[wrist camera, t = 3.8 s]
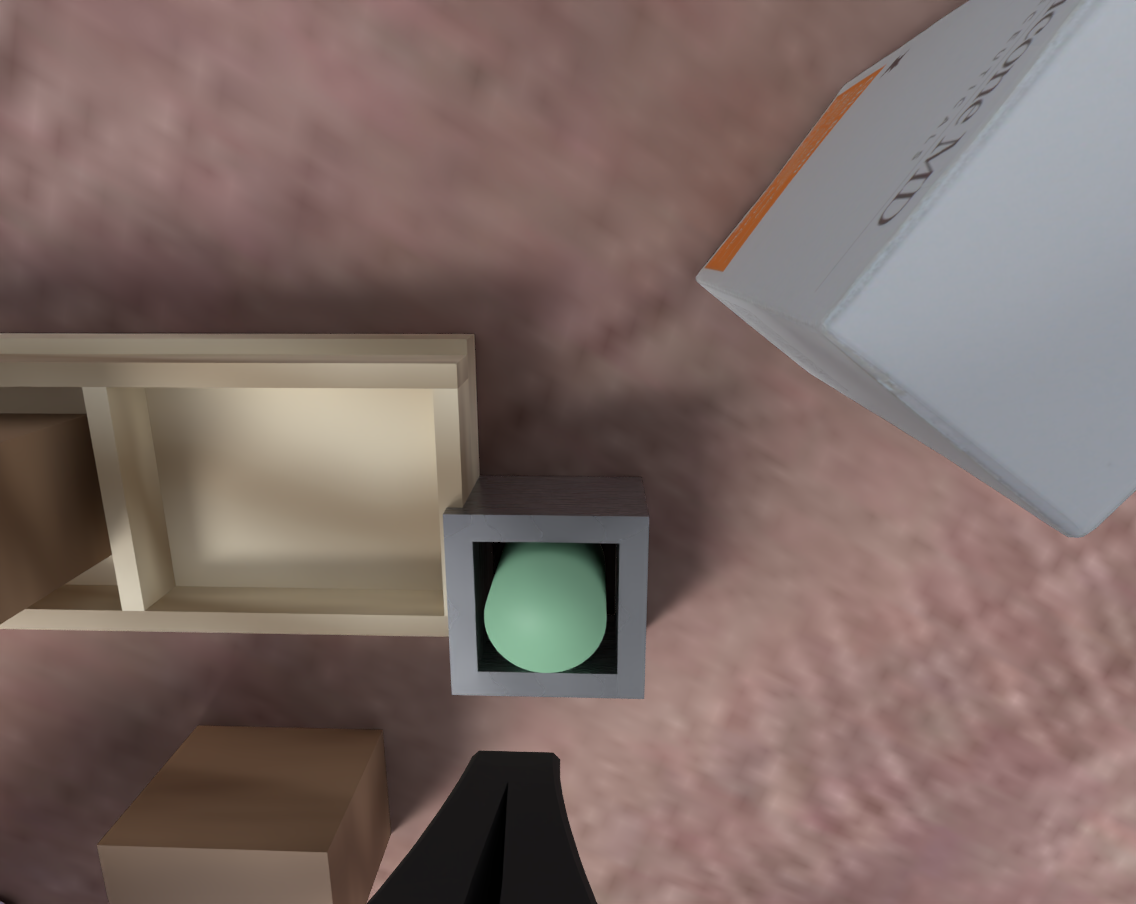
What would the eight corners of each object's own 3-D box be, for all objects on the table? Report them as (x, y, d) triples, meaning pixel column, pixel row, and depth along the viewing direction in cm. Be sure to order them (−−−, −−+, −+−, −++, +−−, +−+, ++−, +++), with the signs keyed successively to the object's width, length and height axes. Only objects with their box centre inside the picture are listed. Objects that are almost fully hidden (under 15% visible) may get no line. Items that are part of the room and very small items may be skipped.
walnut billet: (391, 832, 24) (340, 975, 20) (215, 826, 25) (121, 966, 20) (383, 728, 23) (327, 852, 19) (198, 723, 24) (96, 845, 19)
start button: (604, 613, 21) (606, 674, 18) (502, 611, 21) (485, 671, 18) (606, 515, 21) (607, 562, 17) (499, 514, 21) (482, 560, 18)
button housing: (637, 636, 22) (644, 698, 19) (472, 633, 22) (451, 694, 19) (641, 477, 21) (649, 516, 18) (465, 475, 21) (442, 514, 18)
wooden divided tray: (484, 603, 22) (469, 650, 19) (-90, 594, 23) (-179, 639, 20) (474, 334, 20) (455, 346, 17) (-158, 332, 21) (-268, 344, 18)
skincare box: (842, 77, 18) (1288, -240, 6) (969, 188, 18) (1597, 83, 7) (683, 282, 19) (810, 330, 8) (806, 379, 20) (1098, 560, 8)
